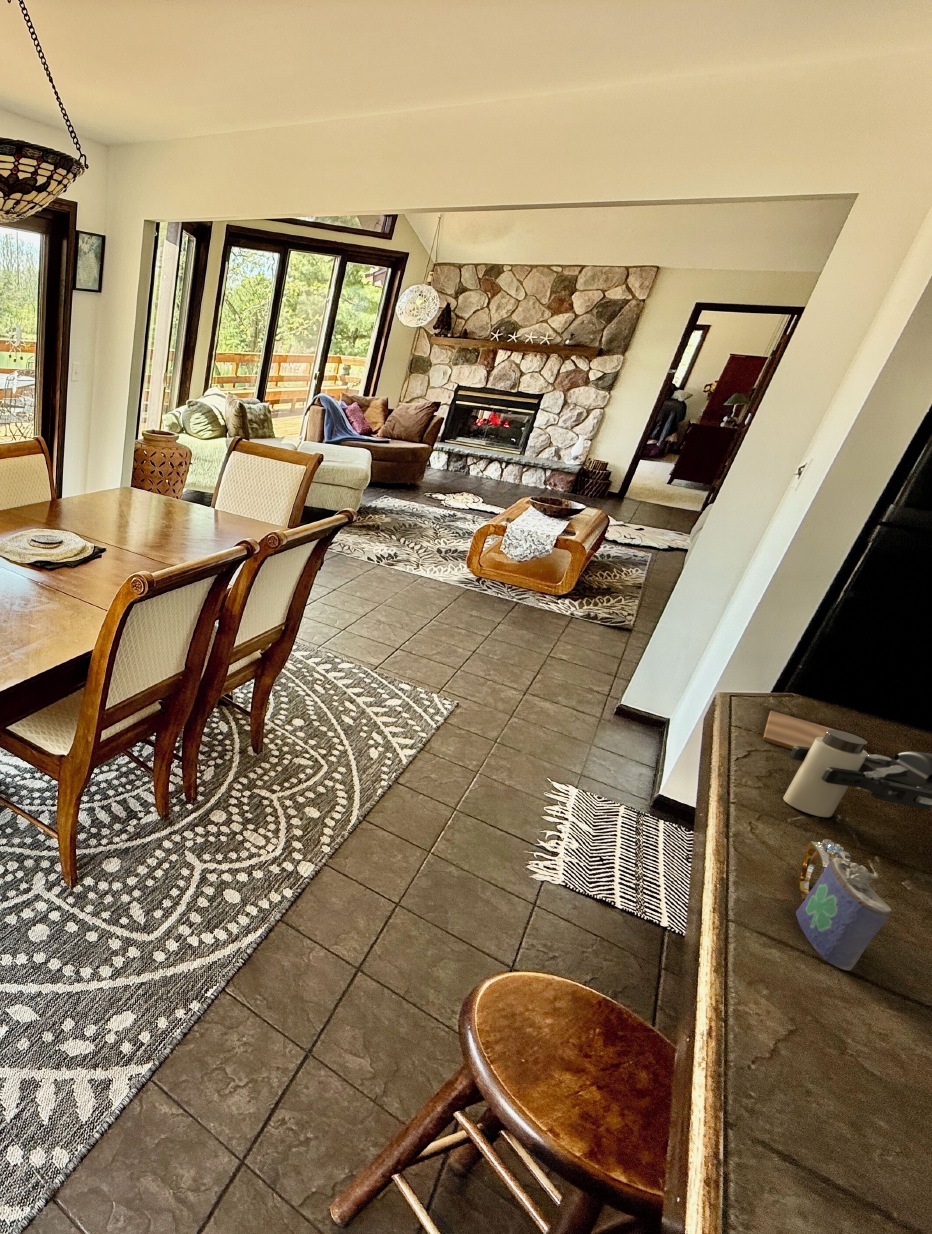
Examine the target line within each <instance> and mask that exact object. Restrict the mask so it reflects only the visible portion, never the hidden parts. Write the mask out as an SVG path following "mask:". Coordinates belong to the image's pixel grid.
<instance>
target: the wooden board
mask: <svg viewBox="0 0 932 1234" xmlns="http://www.w3.org/2000/svg"><path fill="white" fill-rule="evenodd" d="M827 730H836V729H835V728H832V727H828V726H825V725H821V724H818V723H814V722H811V721H808V720H804V719H801V718H797V717H795V716H791V715H788V714H784V713H780V712H777V711H774V710H770V711H769V713H768V717H767V721H766V724H765V728H764V732H763V736H762V741H763V742H766V743H770V744H773V745H776V746H779V747H782V748H786V749H789V750H791V751H792V750H793V748H794V747H795V746H803V747H811V746H812V744H813V742H814V741H815V739H816V738H817V737H824V735H825V733H826V731H827Z"/></svg>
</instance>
